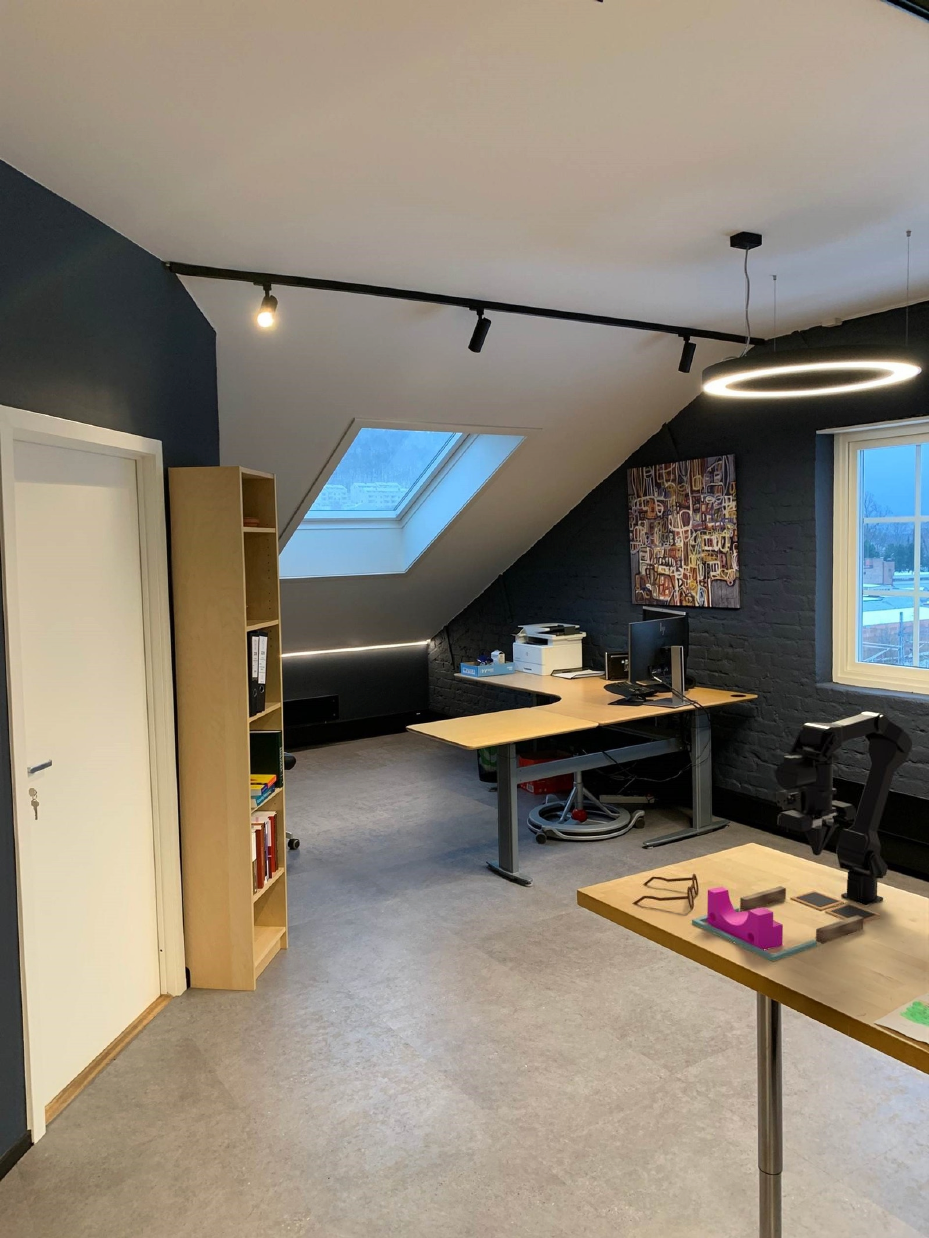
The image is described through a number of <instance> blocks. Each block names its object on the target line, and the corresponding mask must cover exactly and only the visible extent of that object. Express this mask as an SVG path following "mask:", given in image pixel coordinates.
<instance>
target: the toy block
mask: <svg viewBox="0 0 929 1238" xmlns="http://www.w3.org/2000/svg"><path fill="white" fill-rule="evenodd" d="M729 892H730V891H729V889H727V888H725V887H723V886H718V887H714V888H709V889H707V909H706V911H707V912H706V913H707V914H706V915H707V922H706V924H707V923H708V925H711V926H713V927H715V928H717V929H719V930H721V931H724V932H726V933H728V934H730V935H732V936H734V937H736V938H739V939H741V940H743V941H745V942H747V943H749V944H752V945H754V946H756V947H758V948H760V949H762V950H764V949H767V950H769V949H768V948H771V949H775V948H779V947H783V943H784V941H783V939H784V938H783V933H784V931H783V927H784V925H783V924H782V923H780V922H778V921H776V920H774V911H772V910H770V909H768V908H767V907H764V906H762V907H758V908H754V909H751V910H748V911H744V910H742V911H739V912H737V913H736V911H735V910H734V908H733V907H734V906H733V903H732V902H731V899H730V893H729ZM774 947H775V948H774Z"/></svg>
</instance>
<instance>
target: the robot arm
mask: <svg viewBox="0 0 929 1238" xmlns="http://www.w3.org/2000/svg"><path fill="white" fill-rule="evenodd" d="M861 737H863V738H864V739H865V741H866V742H867V743H868V745H867V753H868V756H869V757H868V758H869V761H870V768H869V771H868V775H867V778H866V780H865V785H864V787H863V788H864V789H863V790H862V795H861V798H860V800H859V801H860V802H859V804H858V807H857V809H856V808H855V806H854V805H853V804H851V803H846V802H844V801H838V800H836V799H835V800H833V795H836V794H838V789H837V788H834V787H833V782H834V781H833V779H834V778H833V777H834V775H833V773H834V771H833V770H834V769H833V768H834V766H833V765H834V762H839V761H840V757H839V756H838V755H837V754H835V752H837V751H839V750H840V749H842V748H843V744H844V743H846V742H848V741H852V740H854V739H858V738H861ZM912 747H913V742H912V739H911V738H910V735H909V734H908V733H907V732H905V730H904V729H903V728H902V727H900V726H899V725H897V724H896V723H894V722H892V721H891V720H889V717H887V716H886V715H884V714H883V713H879V712H873V711H863V712H861V713H860V714H857V715H856V714H855V715H854V716H851V717H847V718H844V719H840V720H838V721H833V722H807V723H804V724H803V725H802V726H801V729H800V730H799V732H798V734H797V736H796V739H795V741H794V742H793V745H792V746H791V749H790V750H789V753H788V754H789V755H784V756H783V762H781V763H779V764H778V765H777V767H776V769H775V770H774V771H775V772H774V775H775V780H776V783H777V784H778V785H779V787H781V788H782V789H783V790H780V791H777V792H776V795H775V797H776V799H775V801H776V804H777V806H778V807H782V808H781V809H782V810H783V811H782V812H780V813H779V814H778V815H777V826H779V827H783V828H787V829H790V830H792V831H796V832H804V833H805V834H806V837H807V840H808V843H809V846H810V849H811V852H812V854H813V856H820V855H821V854H822V852H823V851H824V848H825V847H826V845H827V843H828V842H829V839H830V838H831V836H832V834H833V833H834V832H835V830H836V828H837V827H839V826H840V823H838V822H835V821H834V818H833V817H836V816H839V815H841V816H843V817H844V819H845V820H847V821H850V820H851V821H852V820H854V821H853V824H852V825H851V826H850V827H849V828H847V829H846V828H843V829H841V830H840V833H839V838H838V841H837V843H836V851H835V852H836V856H837V861H838V864H839V868H840V869H843V870H846V871H848V872H847V879H846V892H843V893H841V894H840V896H841V898H844V899H847V900H850V901H852V902H855V903H858V904H860V905H862V906H869V905H873V904H876V903H878V902H881V901H884V897H883V896H879V895H878V879H883V878H884V877H885V876H887V872H888V868H889V865H888V864H887V863H886V862H885V860H884V859H883V858H882V856H881V849H882V845H881V842H880V839H879V836H878V830H879V827H880V823H881V819H882V816H883V812H884V810H885V805H886V802H887V799H888V795H889V792H890V789H891V786H892V782H893V778H894V774H895V773H896V771H897V770H898V769H899V768H900V767H901V766H902V765H904V763H906V762H907V759H908V756H909V755H910V752H911V750H912ZM795 789H797V792H791V793H790V792H789V791H791V790H795ZM793 808H795V809H796V810H795V809H794V810H793ZM788 809H790V810H788ZM791 809H792V810H791ZM785 810H786V811H785Z"/></svg>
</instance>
